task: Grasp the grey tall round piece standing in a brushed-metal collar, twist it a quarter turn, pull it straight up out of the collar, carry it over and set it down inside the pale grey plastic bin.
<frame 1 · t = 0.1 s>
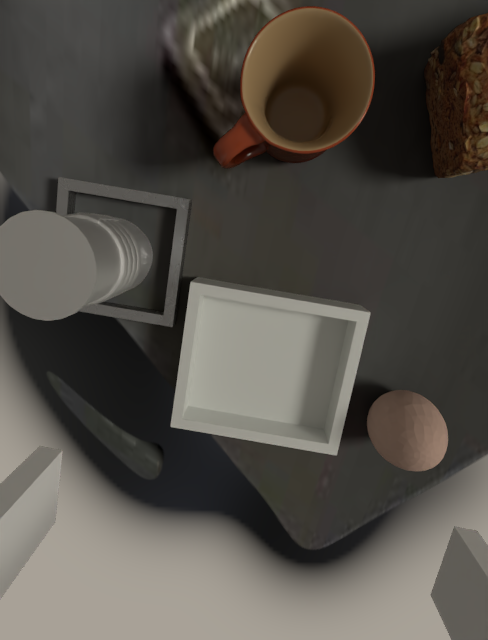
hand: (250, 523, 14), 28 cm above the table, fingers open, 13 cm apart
mug: (279, 134, 37), on the table
grey tall round piece: (123, 253, 40), resting in collar
bin: (265, 358, 42), on the table
egg: (390, 407, 42), on the table
collar: (122, 253, 40), on the table
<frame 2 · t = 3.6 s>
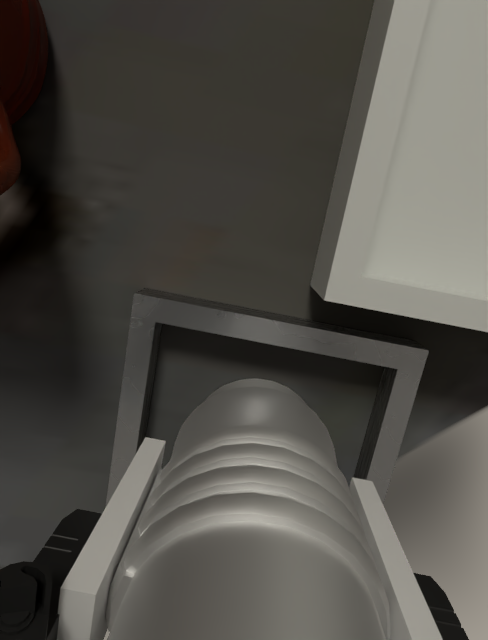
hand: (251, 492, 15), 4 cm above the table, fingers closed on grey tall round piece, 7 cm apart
grey tall round piece: (253, 436, 19), resting in collar, touching gripper
collar: (253, 438, 19), on the table
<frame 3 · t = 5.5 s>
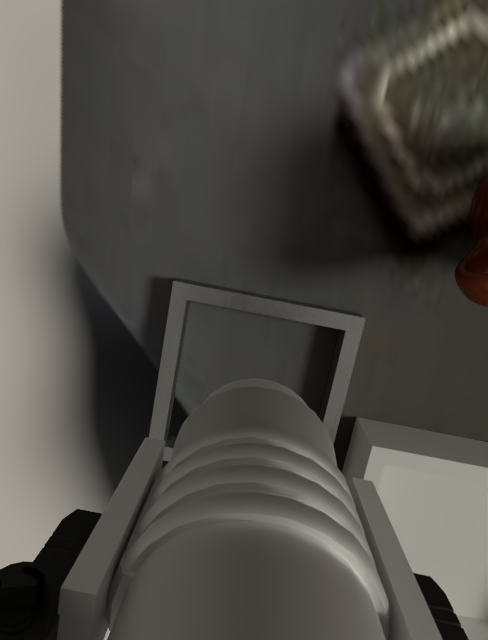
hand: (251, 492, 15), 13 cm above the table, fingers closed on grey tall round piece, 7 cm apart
grey tall round piece: (253, 436, 19), point 9 cm above the table, touching gripper
bin: (442, 527, 30), on the table
collar: (251, 382, 28), on the table
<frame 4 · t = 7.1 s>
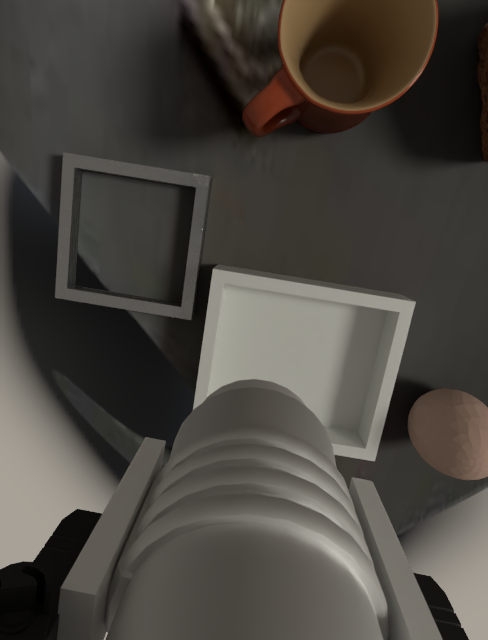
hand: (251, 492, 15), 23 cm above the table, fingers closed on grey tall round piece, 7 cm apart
mug: (310, 102, 33), on the table
grey tall round piece: (252, 436, 19), point 18 cm above the table, touching gripper
bin: (293, 354, 38), on the table
egg: (430, 407, 38), on the table
collar: (134, 238, 36), on the table
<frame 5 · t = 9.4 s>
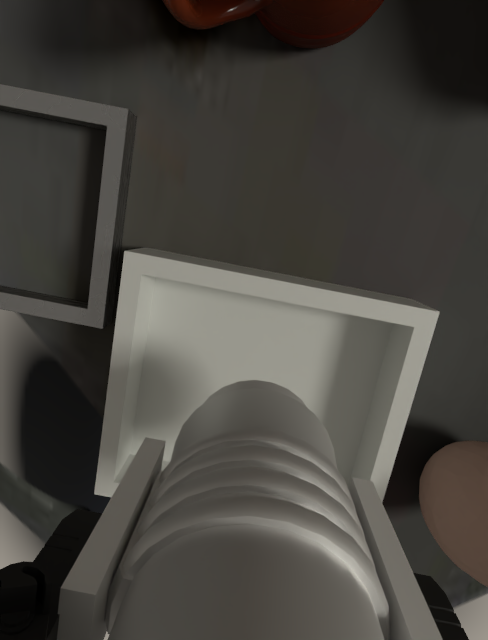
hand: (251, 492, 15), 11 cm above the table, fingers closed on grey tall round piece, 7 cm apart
mug: (286, 1, 22), on the table
grey tall round piece: (253, 437, 19), point 7 cm above the table, touching gripper
bin: (256, 382, 26), on the table
egg: (450, 463, 27), on the table
collar: (23, 206, 24), on the table
when the fingers open (5 cm above the table, at t = 11.0 s): grey tall round piece stays where it is, resting on bin.
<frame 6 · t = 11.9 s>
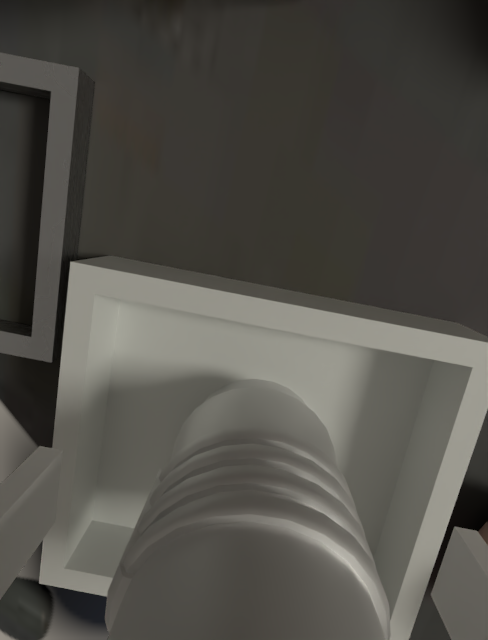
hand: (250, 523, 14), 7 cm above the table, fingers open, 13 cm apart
grey tall round piece: (253, 436, 19), point 1 cm above the table, touching bin
bin: (254, 428, 20), on the table
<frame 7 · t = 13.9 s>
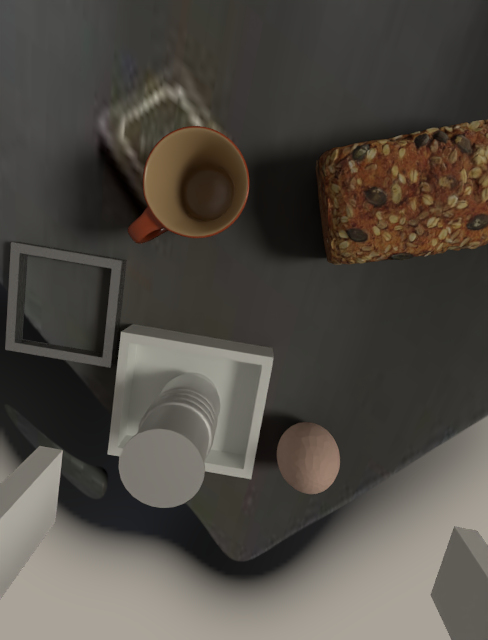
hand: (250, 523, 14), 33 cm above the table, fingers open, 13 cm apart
mug: (198, 205, 44), on the table
grey tall round piece: (192, 396, 47), point 1 cm above the table, touching bin
bin: (193, 393, 48), on the table
bread: (403, 201, 43), on the table
egg: (303, 436, 49), on the table
collar: (68, 304, 46), on the table
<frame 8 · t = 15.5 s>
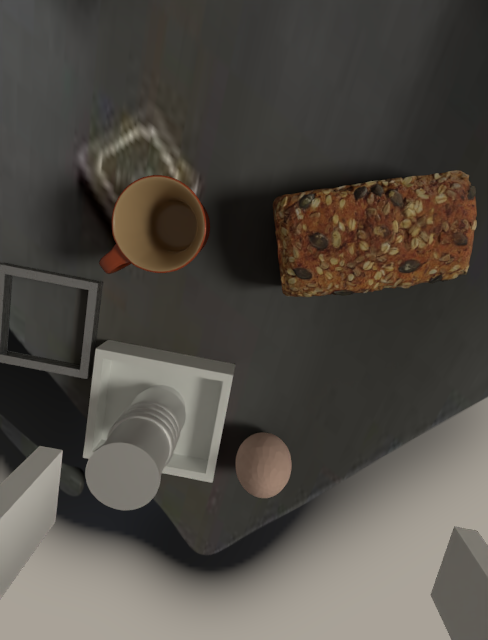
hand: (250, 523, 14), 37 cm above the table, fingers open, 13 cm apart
mug: (169, 234, 48), on the table
grey tall round piece: (162, 406, 52), point 1 cm above the table, touching bin
bin: (163, 403, 52), on the table
bread: (355, 237, 48), on the table
egg: (263, 444, 53), on the table
collar: (49, 320, 51), on the table
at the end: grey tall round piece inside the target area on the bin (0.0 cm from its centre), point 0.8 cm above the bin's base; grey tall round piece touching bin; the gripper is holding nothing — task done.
